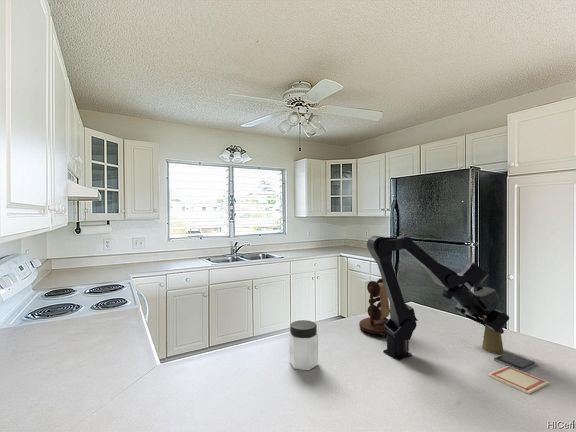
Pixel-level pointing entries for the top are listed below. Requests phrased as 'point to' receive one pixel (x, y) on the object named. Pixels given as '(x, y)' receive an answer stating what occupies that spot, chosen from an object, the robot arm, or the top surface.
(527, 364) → the ink pad
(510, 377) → the print card
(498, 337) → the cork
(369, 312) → the brown wooden figurine
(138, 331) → the top surface
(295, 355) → the jar
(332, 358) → the top surface
